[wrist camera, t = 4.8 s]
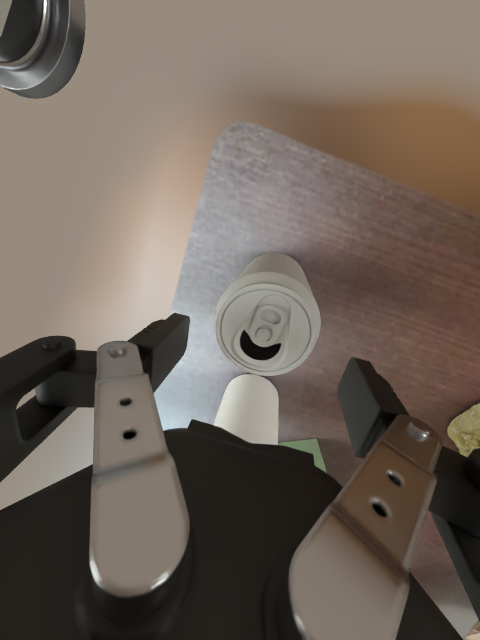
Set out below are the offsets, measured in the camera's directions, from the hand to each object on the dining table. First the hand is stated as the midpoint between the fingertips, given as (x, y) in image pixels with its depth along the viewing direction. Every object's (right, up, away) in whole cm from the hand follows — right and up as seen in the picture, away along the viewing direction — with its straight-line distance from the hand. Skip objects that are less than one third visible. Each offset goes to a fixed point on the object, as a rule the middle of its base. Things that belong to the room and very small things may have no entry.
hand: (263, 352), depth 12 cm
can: (0, -7, +18) cm, 19 cm away
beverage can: (+2, +5, +13) cm, 14 cm away
